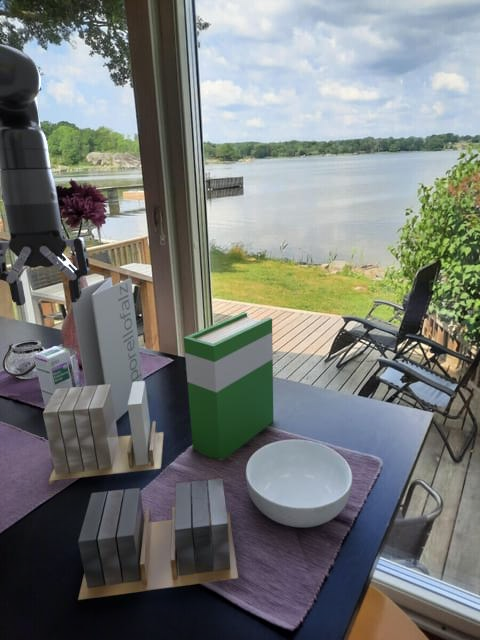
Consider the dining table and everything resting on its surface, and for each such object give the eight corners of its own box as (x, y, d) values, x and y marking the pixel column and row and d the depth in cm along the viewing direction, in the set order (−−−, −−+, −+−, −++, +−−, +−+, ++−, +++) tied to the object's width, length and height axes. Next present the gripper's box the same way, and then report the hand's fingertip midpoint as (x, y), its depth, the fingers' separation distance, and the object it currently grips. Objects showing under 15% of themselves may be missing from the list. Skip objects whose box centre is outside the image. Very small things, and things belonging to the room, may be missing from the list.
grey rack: (79, 605, 57) (67, 552, 55) (95, 533, 69) (87, 486, 66) (238, 583, 60) (236, 531, 57) (229, 517, 71) (227, 471, 68)
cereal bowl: (244, 544, 66) (243, 506, 63) (248, 471, 81) (247, 438, 79) (360, 546, 65) (362, 507, 62) (341, 471, 80) (342, 438, 78)
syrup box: (59, 415, 103) (48, 358, 98) (44, 408, 106) (32, 353, 101) (79, 404, 107) (69, 349, 102) (64, 398, 110) (54, 344, 106)
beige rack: (49, 485, 80) (35, 417, 75) (66, 445, 91) (54, 385, 86) (161, 472, 82) (153, 406, 77) (163, 436, 93) (157, 376, 89)
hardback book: (247, 411, 102) (243, 312, 94) (273, 421, 97) (272, 318, 89) (193, 448, 89) (183, 337, 81) (220, 462, 84) (213, 346, 76)
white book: (135, 465, 83) (127, 404, 78) (139, 438, 91) (132, 381, 87) (148, 464, 83) (141, 403, 79) (151, 436, 91) (145, 380, 87)
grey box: (112, 424, 98) (92, 295, 88) (91, 421, 100) (69, 293, 90) (144, 394, 111) (131, 278, 101) (125, 391, 112) (110, 277, 102)
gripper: (84, 198, 71) (97, 294, 77) (-8, 200, 70) (11, 299, 75) (73, 200, 64) (88, 307, 69) (-30, 203, 63) (-7, 312, 68)
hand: (48, 302), depth 72 cm, fingers open, 8 cm apart
